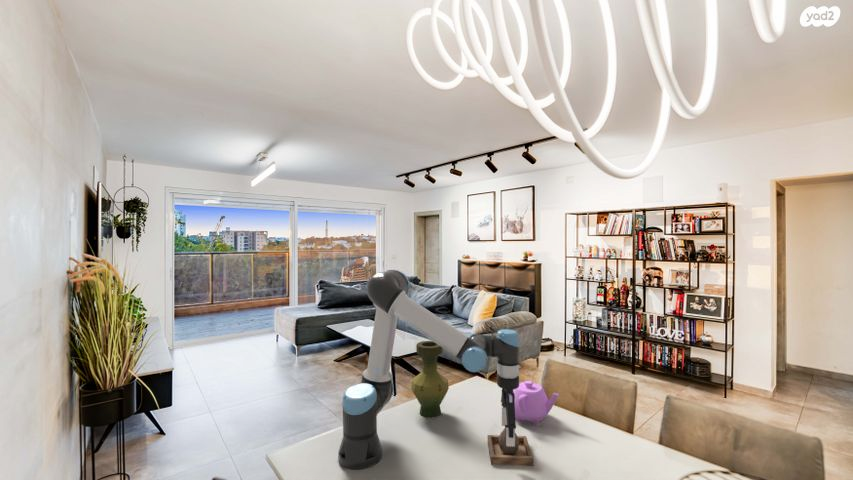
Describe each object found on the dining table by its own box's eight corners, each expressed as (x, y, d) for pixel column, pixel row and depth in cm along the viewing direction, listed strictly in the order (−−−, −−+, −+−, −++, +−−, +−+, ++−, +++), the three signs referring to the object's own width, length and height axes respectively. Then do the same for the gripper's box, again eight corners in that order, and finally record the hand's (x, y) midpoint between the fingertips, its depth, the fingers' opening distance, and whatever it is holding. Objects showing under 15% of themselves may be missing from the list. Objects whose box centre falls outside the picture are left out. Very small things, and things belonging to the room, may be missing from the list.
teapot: (551, 437, 142) (551, 397, 142) (501, 424, 153) (500, 387, 153) (563, 416, 159) (562, 380, 159) (516, 405, 170) (516, 372, 170)
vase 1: (454, 409, 167) (454, 341, 167) (439, 425, 153) (438, 351, 153) (422, 402, 174) (421, 337, 174) (404, 417, 160) (403, 346, 160)
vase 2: (519, 459, 128) (518, 433, 128) (498, 456, 129) (498, 431, 129) (518, 447, 134) (518, 423, 134) (498, 445, 136) (498, 421, 136)
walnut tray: (490, 464, 126) (490, 456, 126) (487, 441, 140) (487, 434, 140) (533, 466, 125) (533, 458, 125) (526, 443, 139) (525, 436, 139)
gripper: (525, 389, 119) (525, 456, 119) (513, 363, 144) (513, 418, 144) (501, 388, 120) (501, 454, 120) (493, 362, 145) (493, 417, 145)
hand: (507, 435), depth 132 cm, fingers open, 13 cm apart
